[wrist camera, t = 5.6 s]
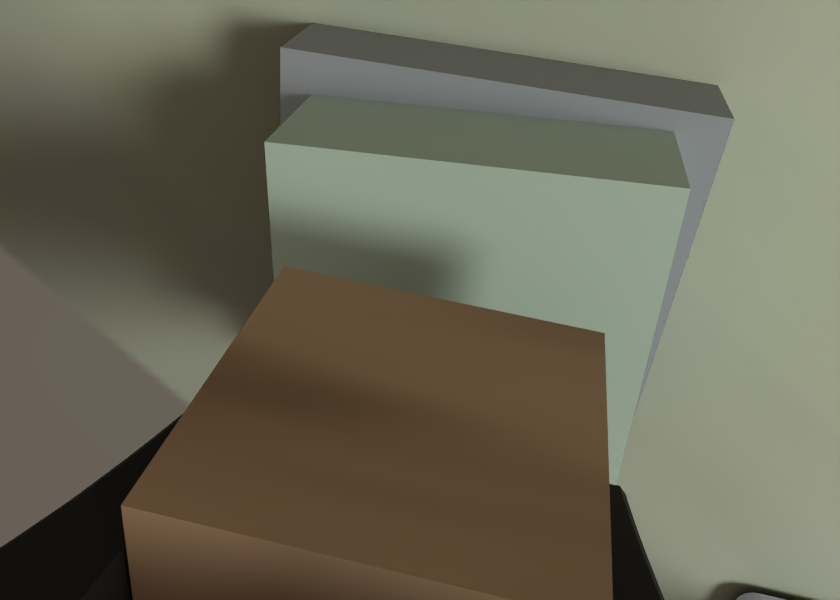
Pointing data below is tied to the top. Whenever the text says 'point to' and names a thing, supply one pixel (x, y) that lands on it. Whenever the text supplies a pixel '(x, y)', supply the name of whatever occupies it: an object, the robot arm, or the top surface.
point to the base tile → (516, 100)
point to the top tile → (488, 217)
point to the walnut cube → (382, 457)
